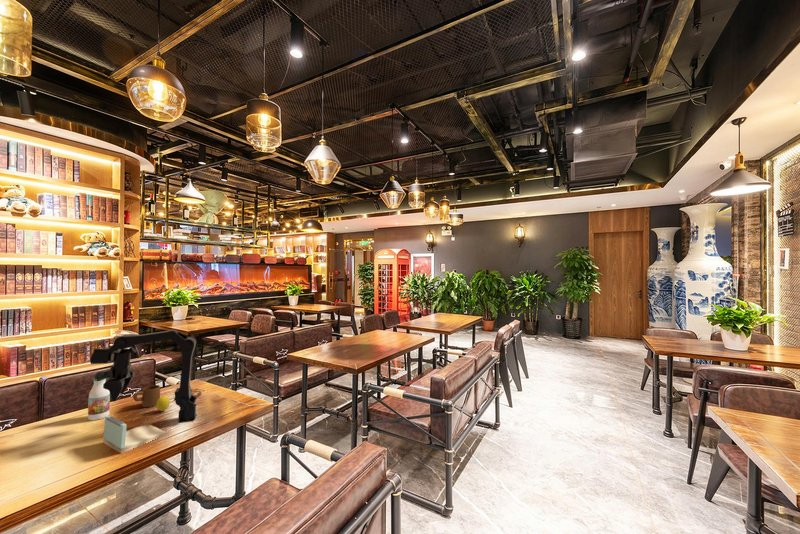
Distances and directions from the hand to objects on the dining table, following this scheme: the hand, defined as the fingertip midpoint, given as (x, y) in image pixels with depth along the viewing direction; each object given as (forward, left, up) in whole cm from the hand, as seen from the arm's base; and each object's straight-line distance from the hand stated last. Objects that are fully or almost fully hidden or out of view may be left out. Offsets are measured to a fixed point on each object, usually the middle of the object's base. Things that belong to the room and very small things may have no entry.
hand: (118, 397), depth 144 cm
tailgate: (-4, +17, -13) cm, 22 cm away
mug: (-3, -26, -15) cm, 30 cm away
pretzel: (-21, -34, -15) cm, 43 cm away
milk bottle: (+14, -19, -15) cm, 28 cm away
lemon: (-13, -16, -15) cm, 25 cm away
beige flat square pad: (-11, +12, -15) cm, 22 cm away
